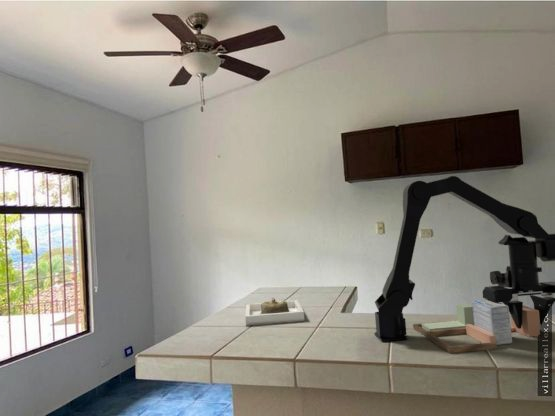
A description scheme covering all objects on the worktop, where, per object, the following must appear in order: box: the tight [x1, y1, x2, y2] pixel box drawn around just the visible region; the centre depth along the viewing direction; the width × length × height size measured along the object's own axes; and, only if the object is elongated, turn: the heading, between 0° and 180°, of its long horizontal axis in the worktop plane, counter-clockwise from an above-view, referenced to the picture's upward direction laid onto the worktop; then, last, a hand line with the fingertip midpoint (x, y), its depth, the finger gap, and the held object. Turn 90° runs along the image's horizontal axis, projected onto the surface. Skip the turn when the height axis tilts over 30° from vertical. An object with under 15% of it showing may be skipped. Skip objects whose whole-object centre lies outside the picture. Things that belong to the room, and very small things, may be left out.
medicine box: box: [471, 299, 513, 346], centre depth 94 cm, size 8×4×9 cm, turn 3°
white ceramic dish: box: [244, 299, 305, 327], centre depth 131 cm, size 18×18×3 cm
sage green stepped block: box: [421, 303, 474, 331], centre depth 103 cm, size 12×5×6 cm, turn 93°
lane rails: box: [412, 320, 498, 354], centre depth 97 cm, size 11×20×1 cm, turn 3°
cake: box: [260, 297, 289, 314], centre depth 132 cm, size 10×10×5 cm
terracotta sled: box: [466, 305, 541, 343], centre depth 94 cm, size 15×10×6 cm
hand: (528, 327), depth 96 cm, fingers open, 5 cm apart
